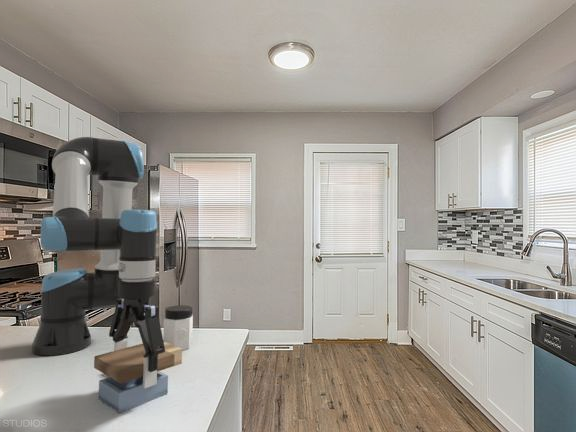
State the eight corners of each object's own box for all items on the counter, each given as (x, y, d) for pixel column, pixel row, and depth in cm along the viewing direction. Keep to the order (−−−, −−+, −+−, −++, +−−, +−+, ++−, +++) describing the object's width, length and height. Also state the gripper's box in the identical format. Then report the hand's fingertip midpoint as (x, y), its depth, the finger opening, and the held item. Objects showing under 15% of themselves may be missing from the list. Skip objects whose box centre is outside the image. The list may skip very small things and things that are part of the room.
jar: (166, 353, 104) (167, 312, 104) (159, 345, 111) (160, 307, 111) (196, 348, 109) (197, 309, 109) (188, 340, 116) (189, 304, 116)
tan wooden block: (116, 371, 91) (117, 355, 91) (165, 356, 102) (165, 342, 102) (132, 380, 86) (133, 363, 86) (181, 363, 97) (182, 348, 97)
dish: (98, 399, 76) (99, 380, 77) (146, 382, 85) (146, 365, 85) (118, 413, 71) (119, 393, 71) (167, 393, 80) (168, 375, 80)
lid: (94, 367, 77) (94, 356, 77) (145, 352, 87) (145, 342, 87) (121, 383, 70) (121, 371, 70) (174, 365, 79) (174, 354, 79)
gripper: (95, 275, 83) (92, 368, 83) (151, 287, 68) (147, 401, 68) (126, 272, 89) (123, 358, 89) (184, 283, 74) (181, 387, 74)
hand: (134, 377), depth 78 cm, fingers closed on lid, 12 cm apart
